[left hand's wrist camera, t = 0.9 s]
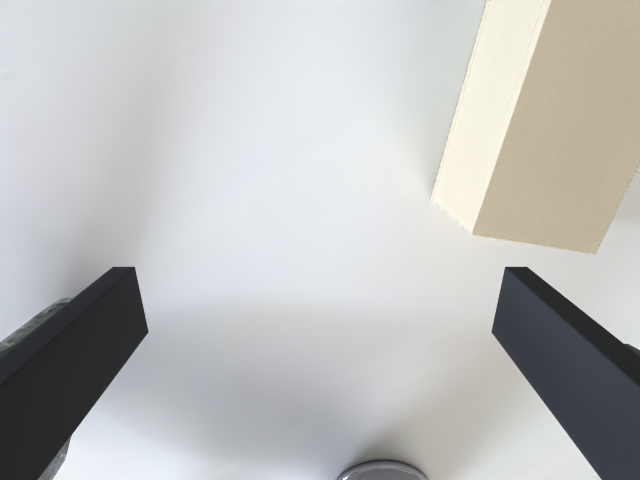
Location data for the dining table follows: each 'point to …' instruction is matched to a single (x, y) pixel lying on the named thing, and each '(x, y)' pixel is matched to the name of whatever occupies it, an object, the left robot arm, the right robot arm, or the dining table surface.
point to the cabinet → (545, 123)
